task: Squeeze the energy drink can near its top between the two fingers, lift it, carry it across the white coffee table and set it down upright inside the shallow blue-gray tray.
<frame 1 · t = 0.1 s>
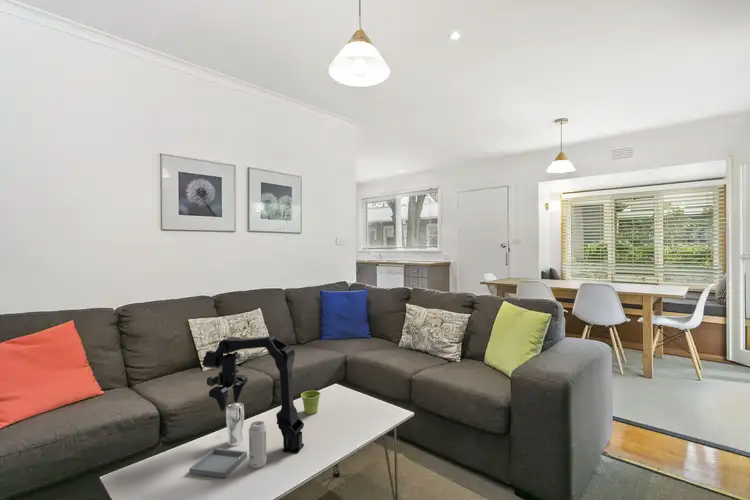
hand: (229, 406, 155), 15 cm above the table, tool pointing down, fingers open, 9 cm apart
plant pot: (311, 412, 183), on the table
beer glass: (235, 442, 155), on the table
blue-gray tray: (219, 465, 138), on the table
energy drink can: (258, 465, 138), on the table
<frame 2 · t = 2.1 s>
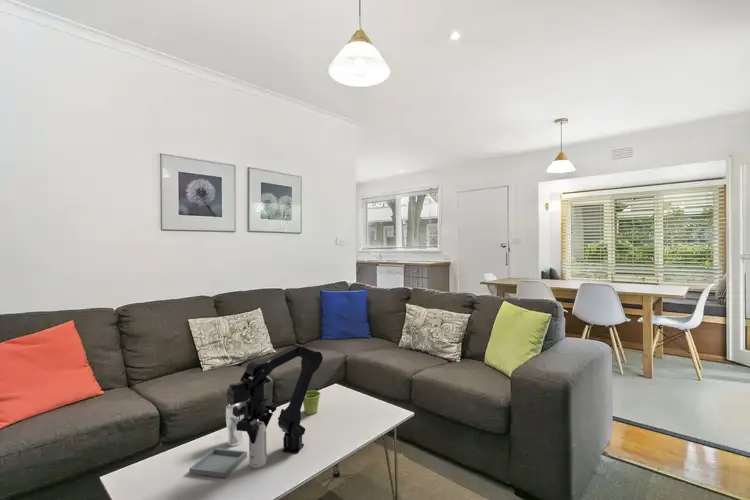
hand: (257, 438, 138), 10 cm above the table, tool pointing down, fingers closed on energy drink can, 6 cm apart
energy drink can: (258, 465, 138), on the table, touching gripper
everything else where it was.
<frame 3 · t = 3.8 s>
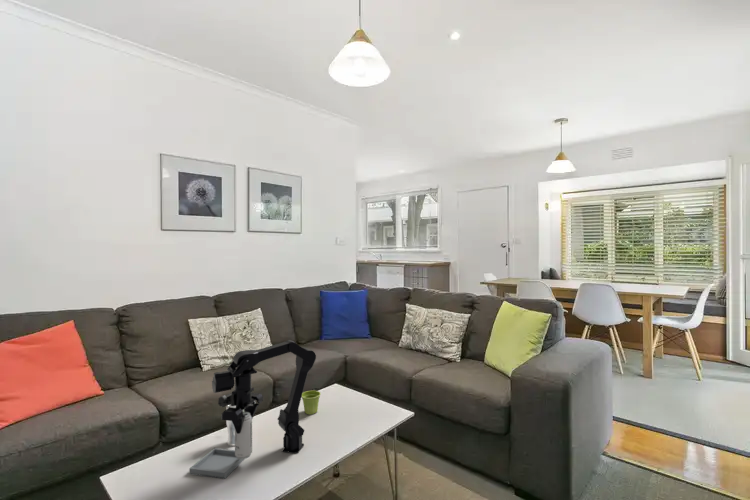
hand: (243, 429, 138), 13 cm above the table, tool pointing down, fingers closed on energy drink can, 6 cm apart
energy drink can: (243, 456, 138), point 3 cm above the table, touching gripper
everything else where it was.
when the fingers open (11 cm above the table, at t = 5.8 s): energy drink can stays where it is, resting on blue-gray tray.
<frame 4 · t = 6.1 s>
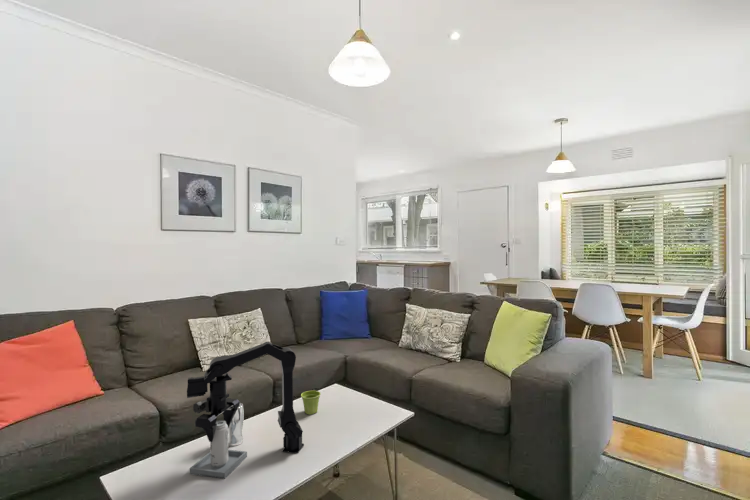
hand: (218, 435, 138), 11 cm above the table, tool pointing down, fingers open, 9 cm apart
energy drink can: (219, 464, 138), resting on blue-gray tray
everything else where it was.
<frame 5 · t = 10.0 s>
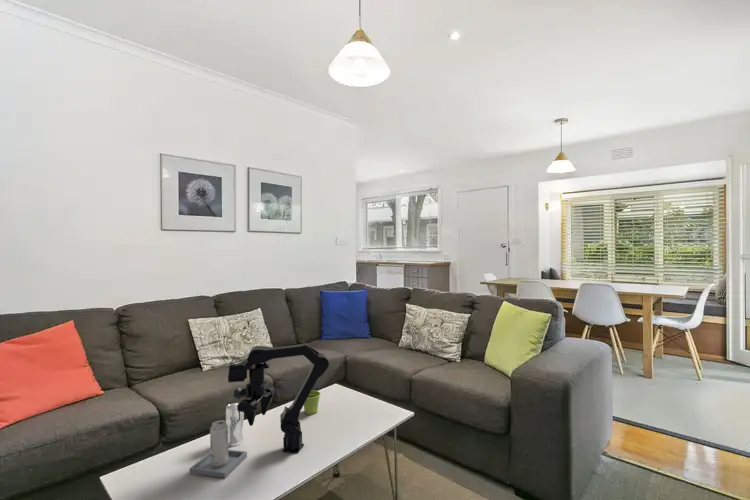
hand: (257, 420, 146), 13 cm above the table, tool pointing down, fingers open, 9 cm apart
nothing on the table moved.
at the end: energy drink can inside the target area on the blue-gray tray (0.1 cm from its centre), point 0.3 cm above the blue-gray tray's base; energy drink can tilted 0°; the gripper is holding nothing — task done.
